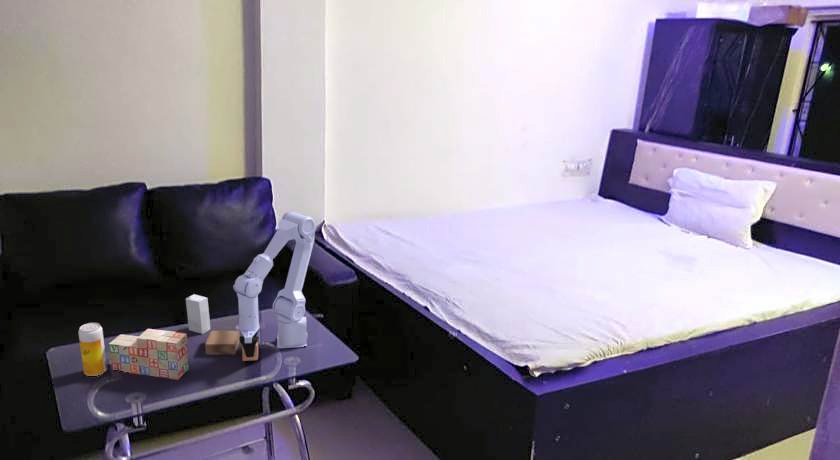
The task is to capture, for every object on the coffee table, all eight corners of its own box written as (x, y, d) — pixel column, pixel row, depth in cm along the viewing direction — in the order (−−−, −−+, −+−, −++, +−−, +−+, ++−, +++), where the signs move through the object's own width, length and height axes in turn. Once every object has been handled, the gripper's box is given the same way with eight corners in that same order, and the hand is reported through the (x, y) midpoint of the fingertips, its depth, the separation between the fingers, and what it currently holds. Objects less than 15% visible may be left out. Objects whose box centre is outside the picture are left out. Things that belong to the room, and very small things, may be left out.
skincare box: (211, 329, 209) (209, 297, 205) (201, 335, 205) (199, 302, 201) (197, 325, 211) (194, 293, 207) (187, 330, 207) (185, 298, 203)
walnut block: (239, 341, 203) (239, 330, 202) (235, 355, 194) (234, 344, 193) (211, 341, 202) (211, 330, 200) (205, 355, 193) (205, 344, 192)
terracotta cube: (258, 352, 194) (257, 338, 192) (257, 359, 189) (257, 345, 188) (243, 353, 193) (242, 339, 191) (242, 360, 189) (242, 346, 187)
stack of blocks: (111, 371, 182) (106, 334, 178) (123, 360, 188) (119, 324, 184) (179, 380, 179) (175, 342, 175) (189, 369, 185) (186, 332, 181)
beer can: (85, 368, 182) (79, 323, 177) (108, 365, 184) (102, 321, 179) (82, 379, 177) (76, 333, 172) (106, 376, 179) (100, 330, 174)
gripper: (236, 303, 192) (238, 341, 197) (233, 324, 179) (235, 365, 183) (259, 302, 194) (261, 340, 198) (258, 323, 180) (259, 363, 185)
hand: (250, 352), depth 191 cm, fingers closed on terracotta cube, 4 cm apart
